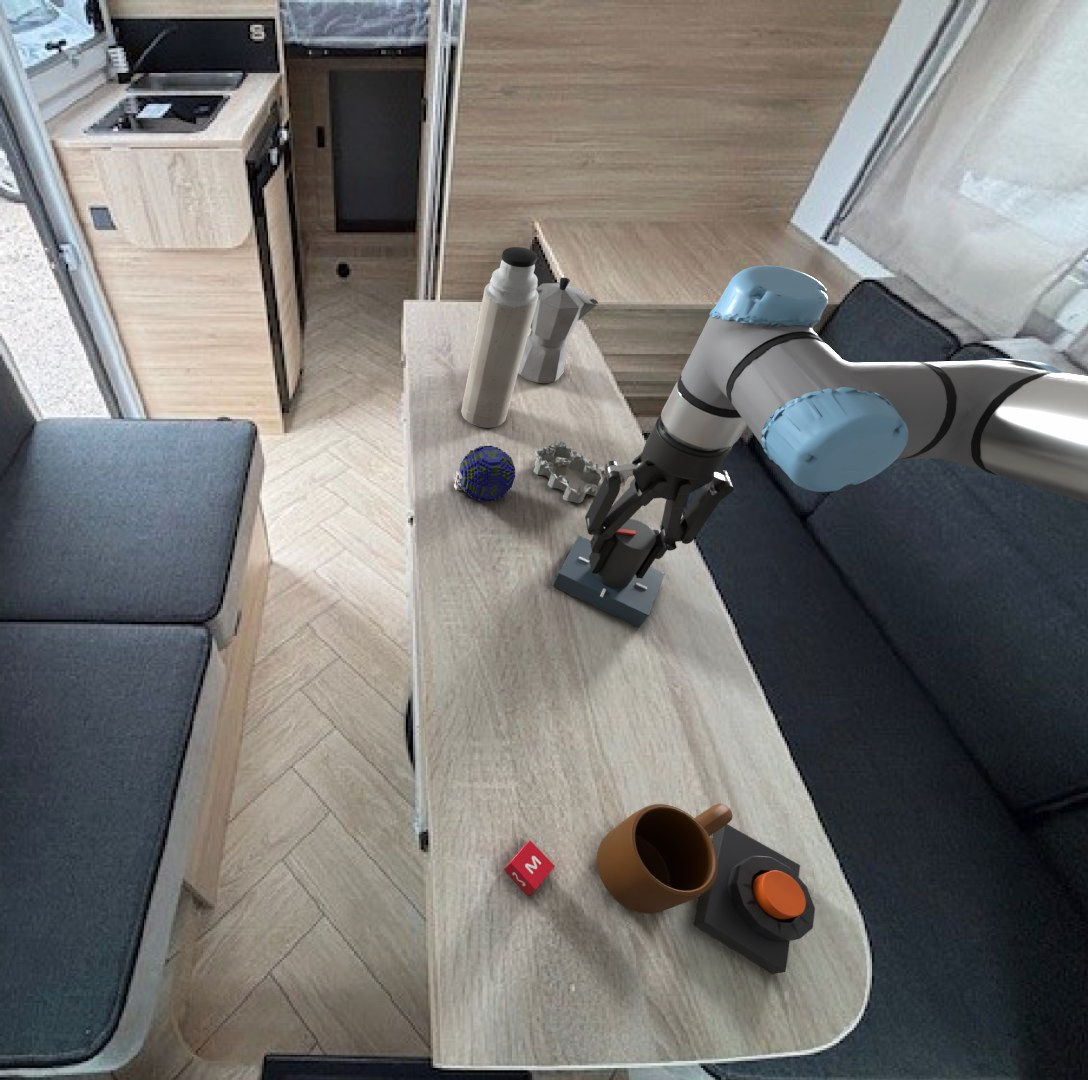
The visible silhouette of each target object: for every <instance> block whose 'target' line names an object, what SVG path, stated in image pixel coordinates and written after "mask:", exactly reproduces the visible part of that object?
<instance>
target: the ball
mask: <svg viewBox="0 0 1088 1080" xmlns="http://www.w3.org/2000/svg"><path fill="white" fill-rule="evenodd" d="M455 473H456V476H454V484H453V488H454V489H455V491H463V492H464V493H465V494H468V496H469V497H470V498H471V499H475V500H476V501H480V502H495V501H496V500H499V499H500V498H503V497H504V496H506V494H507V493H508V492H509V491H510V490H511V489H512V488H513V485H514V482H515V479H516V467H515V464H514V461H513V459H512V456H510V455H509V454H508V453H507V452H506V451H503V450H502V449H501V448H499V447H497V446H494V445H481V446H478V447H476V448H473V449H471V450H469V452H468V453H467V454H466V455H465V456H464V457H463V459H462V460H461V462H460V463H459V469H456V470H455Z"/></svg>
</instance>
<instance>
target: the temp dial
mask: <svg viewBox="0 0 1088 1080" xmlns="http://www.w3.org/2000/svg"><path fill="white" fill-rule="evenodd" d="M653 530H654V529H652V528H651V527H650V526H649V525H648V524H646V523H644V522H643V521H640V520H638V519H633V518H630V519H629V520H628V521H627V522H626V523H625V524H624V525H623V526H622V527H621V528H620V529H619V530H618V531H617V532H616V533H615V534H614V538H615V543H614V545H613V547H612V549H611V551H610V552H609V554H608V556H607V558H606V560H605V561H604V563H603V565H602V567H601V569H600V570H599V572H598V574H595V576H596V578H597V579H598V580H599V581H600V582H601V583H603V584H605V585H606V586H609V587H612V588H623V587H625V586H627V585H628V584H629V583H630V582H631V580H632V579H633V577H634V576H635V574H636V573H637V571H638V569H639V568H640V566H641V565H642V563H643V562H644V560H645V558H646V557H647V555H648V554H649V552H650V551H651V549H652V548H653V546H654V544H655V542H656V536H655V534H654V532H653Z"/></svg>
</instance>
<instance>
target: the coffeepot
mask: <svg viewBox="0 0 1088 1080" xmlns="http://www.w3.org/2000/svg"><path fill="white" fill-rule="evenodd" d="M570 282H571V279H570V278H569V277H565V276H564V277H560V279H559V282H551V283H550V282H549V283H548V282H546V283H541V284H540V285H539V286H537V288H536V291H537V292H538V301H537V304H536V308H535V312H534V316H533V319H532V323H531V327H530V332H529V334H528V338H527V342H526V346H525V349H524V353H523V356H522V360H521V363H520V367H519V371H518V375H519V376H521V377H522V378H523V379H525V380H527V381H529V382H532V383H536V384H551V383H555V382H557V381H558V380H559V379H560V378H561V377H562V375H563V374H564V373H565V365H566V356H567V349H568V342H567V341H568V338H569V337H570V336H571V335H572V334H573V332H574V329H575V328H576V325H577V323H578V322H579V321H580V320H581V319H582V318H583V317H584V316H586V315H587V314H588V313H589V312H590V311H592V310H593V309H594V308H596V307H599V302H598V300H597V299H594V297H591V296H589V295H586V294H585V293H584V291H582V289H580V288H578V287H575V286H572V285H569V284H570Z"/></svg>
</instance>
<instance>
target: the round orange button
mask: <svg viewBox="0 0 1088 1080" xmlns="http://www.w3.org/2000/svg"><path fill="white" fill-rule="evenodd" d="M753 893H754V897H755V899H756V901H757V903H758V904H759V906H760V907H761V908H762V909H763V910H764V911H765V912H766V913H767V914H769V915H770V916H772V917H774V918H777V919H788V918H792V917H796V916H799V915H801V914H802V913H803V911H804V909H805V906H806V900H805V896H804V893H803V891H802V889H801V887H800V886H799V884H798V883H797V882H796V881H795V880H794V879H793V878H792V877H790V876H789V875H787V874H786V873H784V872H781V871H769V872H767V873H764V874H762V875H759V876H757V877H756V878H755V880H754V882H753Z"/></svg>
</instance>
